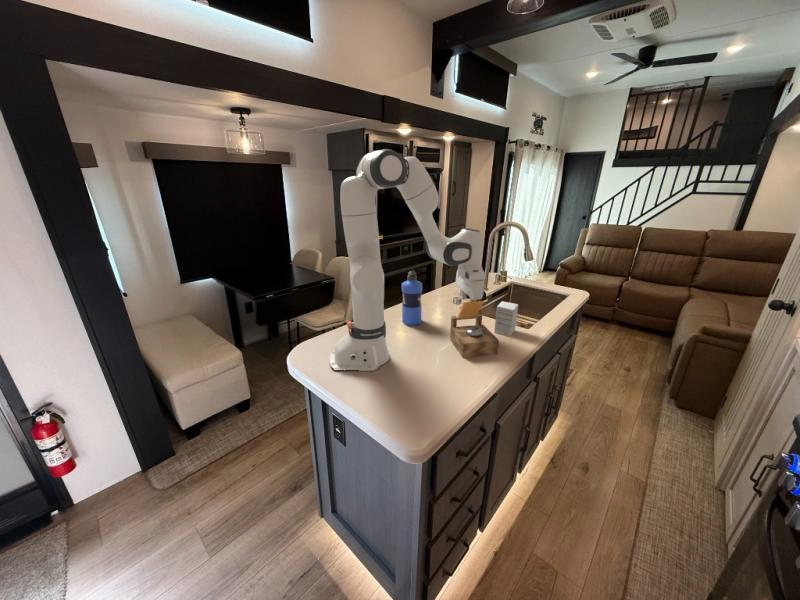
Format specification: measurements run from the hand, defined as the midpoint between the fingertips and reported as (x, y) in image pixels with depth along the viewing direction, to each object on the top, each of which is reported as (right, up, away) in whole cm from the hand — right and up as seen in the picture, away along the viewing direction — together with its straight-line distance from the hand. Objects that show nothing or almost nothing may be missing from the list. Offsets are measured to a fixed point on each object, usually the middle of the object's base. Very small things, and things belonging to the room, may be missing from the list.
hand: (467, 302), depth 127 cm
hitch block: (+1, -17, -2) cm, 18 cm away
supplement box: (+18, -13, +9) cm, 24 cm away
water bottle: (-22, -10, +20) cm, 31 cm away
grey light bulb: (+1, -17, -3) cm, 18 cm away
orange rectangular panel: (0, -4, -3) cm, 5 cm away
